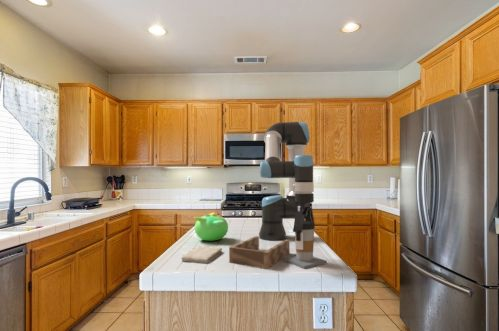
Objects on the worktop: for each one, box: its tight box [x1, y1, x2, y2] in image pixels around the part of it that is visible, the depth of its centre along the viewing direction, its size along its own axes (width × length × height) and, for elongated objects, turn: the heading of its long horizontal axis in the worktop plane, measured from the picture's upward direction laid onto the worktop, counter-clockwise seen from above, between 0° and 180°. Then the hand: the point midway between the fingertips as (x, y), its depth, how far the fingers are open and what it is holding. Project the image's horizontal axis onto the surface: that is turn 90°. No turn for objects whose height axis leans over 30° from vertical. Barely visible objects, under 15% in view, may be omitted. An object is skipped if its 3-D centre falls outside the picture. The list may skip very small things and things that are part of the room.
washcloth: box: [181, 246, 223, 264], centre depth 123 cm, size 12×18×3 cm, turn 166°
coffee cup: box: [294, 220, 316, 262], centre depth 115 cm, size 8×8×15 cm
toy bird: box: [193, 212, 229, 242], centre depth 153 cm, size 18×17×15 cm
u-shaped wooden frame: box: [228, 235, 291, 270], centre depth 121 cm, size 24×17×6 cm
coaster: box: [283, 255, 328, 269], centre depth 114 cm, size 12×12×1 cm
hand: (304, 245), depth 115 cm, fingers open, 13 cm apart
